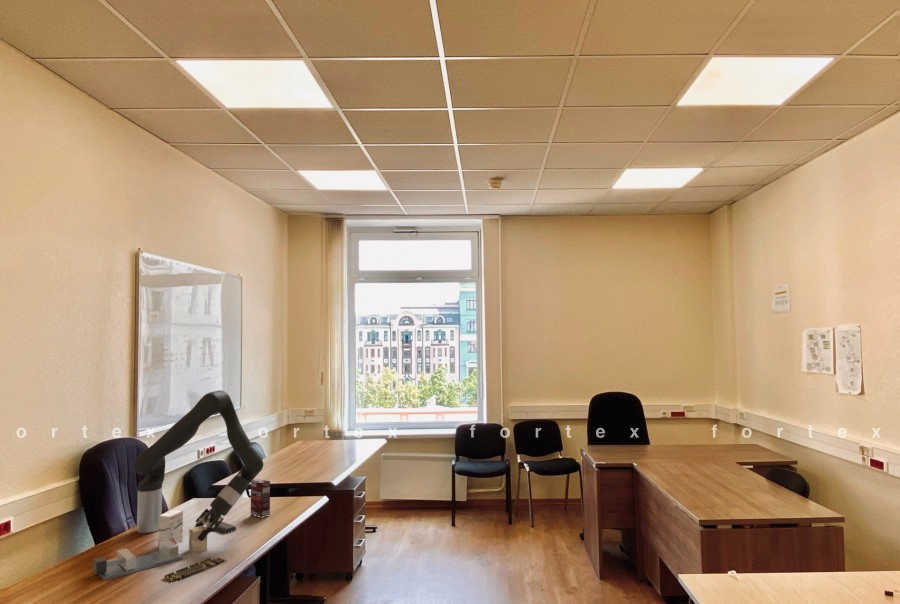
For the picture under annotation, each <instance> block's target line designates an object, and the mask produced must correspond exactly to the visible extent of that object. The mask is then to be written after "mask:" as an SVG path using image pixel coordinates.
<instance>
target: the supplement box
mask: <svg viewBox="0 0 900 604" xmlns="http://www.w3.org/2000/svg"><path fill="white" fill-rule="evenodd" d="M270 513H271V481H270V480H265V479H260V478H257V479H253V480H252V481H251V483H250V516H251V515H256V516H260V517H263V516H267V515H270V516H271V514H270Z"/></svg>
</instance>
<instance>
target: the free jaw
mask: <svg viewBox="0 0 900 604" xmlns="http://www.w3.org/2000/svg"><path fill="white" fill-rule="evenodd" d="M92 562H93V563H92V571H93V573H94V574H95V576H97V575H98V576H99V574H102V573H105V572H107V567H110V566H114V565H118V564H120V565H121V566H122V567H123V568H124V569H125V570H130V569H134V568H135V567H136V555H134V554H133V552H131V551H130V550H129V548H122V549H118V550H116V557H115V558H111V559H110V558H109V559H106V558H105V556H99V557H95V558H93V559H92Z"/></svg>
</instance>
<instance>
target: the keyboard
mask: <svg viewBox="0 0 900 604" xmlns="http://www.w3.org/2000/svg"><path fill="white" fill-rule="evenodd" d="M225 561H227V560H226V558H223V557H220V556H217V557H213V558H212V557H208V558H205V559H203V560H201V561H200V562H196V563H193V564H190V565H189V566H184V567H182V568H180V569H178V570H176V571H175V572H174V571H171V572H170V573H167V574H164V575H163V578H162V579H160V581H161V582H163V583H167V582H168V583H167V584H170V583H171V582H172V583H173V582H176V581H178V582H181V581H183V580H185V578H186V579H187V578H190V577H192V576H195V575H198V574H200V573H204V572H205V571H208V570H210V569H212V568H215V567H217V565H218V566H220V565H221V564H220V563H223V562H225ZM225 563H226V562H225ZM219 564H220V565H219ZM223 564H224V563H223ZM180 580H181V581H180ZM176 583H177V582H176ZM173 584H174V583H173Z"/></svg>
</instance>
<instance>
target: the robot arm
mask: <svg viewBox="0 0 900 604" xmlns="http://www.w3.org/2000/svg"><path fill="white" fill-rule="evenodd" d="M216 414H219V415H220V416H221V417H222V418H223V420H224V423H225V426H226V427H225V428H226V435H227V439H228V443H229V444H230V445H231V446H230V447H231V448H232V449H233V451H234V452H235V454H236V456H237V457H239V458H240V461H241V462H242V464H243V466H242V467H241V469H240V470H238V473H237V474H236V475H234V476H233V477H232V478H231V480H230V481H229V482H228V483H227V484H226V486H225V487H224V488H222V490H220V491H219V493H218V494H217V496H215V498H214V499H213V500H212V501H211V502H210V505H209V506H210V509H208V508H205V509H204V511H202V513H201V514H200V515H199V516H198V517H197V518H196V520H195V525H194V526H193V528H194V527H198V526H204V527H205V530H203V531H202V533H201V534H200V535H199V536H198V539H199V540H200V541H203V540H204V538H205V537H206V536H207V537H208V535H209V534H210V533H214V532H216V531H215V530H216V528H217V527H218V526H219V524H220V523H221V522H224V521H223V520H224V517H225V516H227V514H228V513H229V512H230V510H231V509H233V507H234V505H235V504H236V503H237V502H238V500H239V499H240V497H241V496H242V495H243V493H245V491H246V490H247V488H248V487H249V485H251V481H253V480H255V478H256V477H257V476H258V475H259V474H260V473H261V471H262V470H263V469H264V461H263V459H262V457H261V455H260V454H259V452H258V451H257V450H256V448H254V446H253V444H252V443H251V441H250V439H249V438H248V435H247V434H246V431H245V430H244V429H243V426H242V423H241V421H240V420H239V417H238V413H237V412H236V409H235V406H234V403H233V401H232V399H231V396H230V395H229V394H228V392H226V391H225V390H220V389H219V390H214V391H211V392H208V393H205V394H204V395H203V396H202V397H201V398H200V400H199V401H198V402H196V403H195V405H194V406H193V407H192V408H191V410H190V411H188V412H187V413H186V414H185V415H183V416H182V417H181V418H180V419H179V420H178V421H177V422H175V423H174V424H173V425H172V426H171V427H169V429H168V430H167V431H166V432H165V433H164V434H163V435H161V436H160V437H159V438H158V439H157V440H156V441H155V442H154V443H153V444H152V445H150V446H149V447H148V448H147V449H145V450H144V451H142V452H141V453H140V454H138V455H137V456H136V458H135V460H134V462H133V466H132V467H133V471H134V472H135V473H136V474H137V475H140V476H141V475H142V476H143V475H145V477H144V478H143V480H141V481H140V482H139V483H138V484H137V485H138V486H137V510H136V511H137V512H136V514H137V516H136V518H137V519H136V520H137V521H136V533H138V534H148V533H150V534H151V533H154V532H157V531H158V532H159V516H160V515H162V514H163V513H162V508H163V506H162V504H163V503H162V502H163V483H164V481H165V475H166V456H167V455H169V454H172V453H174V452H175V451H177V450H179V449H180V448H182V447H183V446H185V445H186V444H187V443H188V442H189V441H190V440H191V439H193V437H194V436H195V435H196V434H197V432H198V430H199V427H200V426H201V425H202V423H204V422H205V421H206V420H207V419H209V418H210V417H212V416H214V415H216ZM223 516H224V517H223Z"/></svg>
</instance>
